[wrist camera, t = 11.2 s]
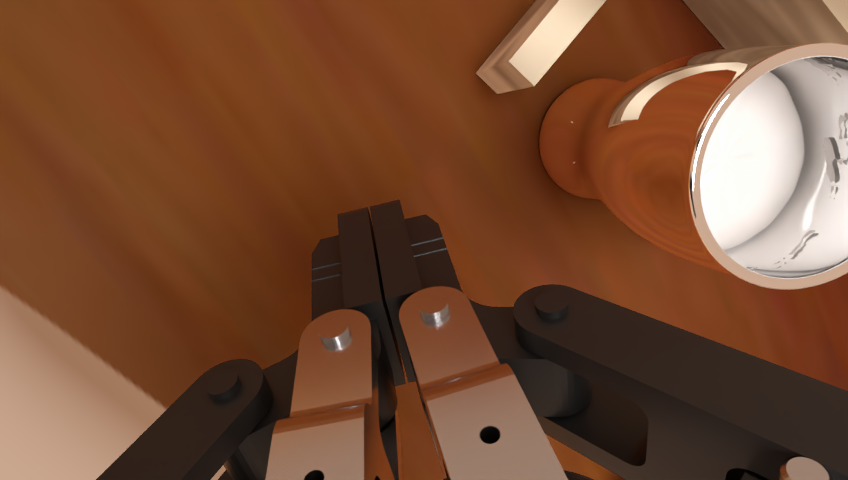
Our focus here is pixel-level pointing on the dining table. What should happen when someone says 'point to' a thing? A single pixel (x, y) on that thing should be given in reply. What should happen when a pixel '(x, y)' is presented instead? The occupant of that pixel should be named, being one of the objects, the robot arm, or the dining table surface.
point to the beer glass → (719, 158)
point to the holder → (711, 3)
